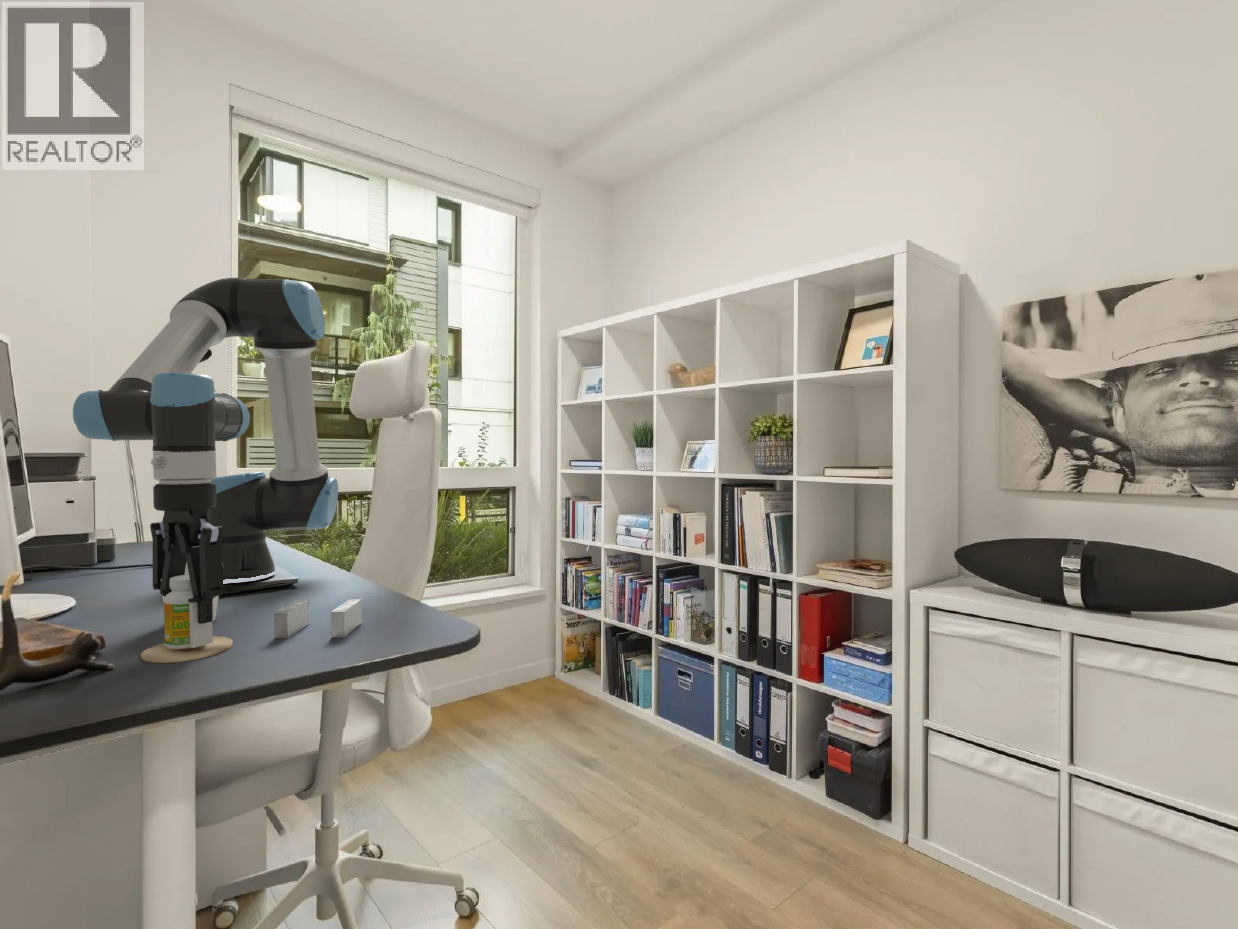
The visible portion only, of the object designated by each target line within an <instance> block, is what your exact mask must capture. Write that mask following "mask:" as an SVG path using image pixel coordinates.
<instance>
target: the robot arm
mask: <svg viewBox="0 0 1238 929" xmlns="http://www.w3.org/2000/svg"><path fill="white" fill-rule="evenodd" d="M325 323H326V322H325V315H324V309H323V306H322V303H321V300H320V298H319V295H318V292H317V291H316V289H315V288H314V287H313V286H312V285H311V284H310V283H308V282H305V281H300V280H299V281H298V280H293V279H292V280H290V279H287V278H286V279H285V278H284V279H274V278H273V279H271V278H269V279H268V278H267V279H266V278H265V279H264V278H241V277H226V278H220V279H217V280H214V281H213V280H212V281H211V282H208V283H206V284H203V285H201V286H198V287H197V288H195V289H194V290H192V291H190V292H188V294H186V295H185V296H183V297H182V298H181V299H179V301H178V302H176V304H174V306H173V307H172V309H171V311H170V312H169V321H168V322H167V324H166V325H165V326H164V327H163V328H162V329H161V330H160V332H159V333H158V334H157V335H156V336H155V337H154V338H153V339H152V340H151V342H150V343H149V344H148V345H147V346H146V347H145V348H144V350H143V351H142V352H141V353H140V354H139V355H138V356H137V357H136V358H135V360H134V361H133V362H132V363H131V365H130V366H129V367H128V368H127V369H126V370H125V371H124V372H123V373H122V375H121V376H120V377H119V378H118V379H117V380H116V382H115V383H114V384H113V385H112V386H111V387H110V388H109V389H108V390H102V389H97V390H88V391H85V392H81V393H79V395H78V396H77V397H76V399H75V400H74V403H73V406H72V419H73V422H74V425H75V426H76V429H77V431H78V432H79V433H80V434H81V435H82V436H84V437H85V438H87V439H89V440H105V441H107V440H108V441H112V442H116V441H152V459H151V461H150V464H151V465H152V469H153V471H152V476H153V477H152V478H153V479H154V480H156V481H158V483H155V484H154V486H153V487H152V492H153V496H152V497H153V509H155V510H157V511H159V512H163V517H162V521H159V522H151V523H150V525H149V528H150V534H151V538H152V589H153V590H154V591H157V590H159V594H160V595H161V597H162V596H164V598H165V596H166V595H167V594H168V593H170V592H172V589H170V578H172V577H175V576H180V575H184V574H185V568H186V561H187V567H188V572H189V577H190V583H191V588H192V593H193V598H191V599H188V601H189V616H190V647H191V648H195V647H199V646H203V645H206V644H210V643H213V636H214V635H213V622H212V619H213V612H212V611H213V603H212V602H213V598H215V597H216V596H219V597H220V596H223V594H224V585H223V580H225V579H238V578H251V577H256V576H260V575H267V574H269V573H272V572H274V571H275V572H276V564H275V561H274V560H273V557H272V556H273V555H271V551H270V548H269V547H268V544H267V535H266V531H299V530H300V531H301V530H302V531H304V530H305V531H310V530H322V529H326V528H327V527H329V526H330V524H331V523H332V522H333V519H334V517H335V513H336V510H337V504H338V499H339V483H338V479H337V478H336V477H333V476H329V471H328V467H327V466H325V465H324V464H323V463H322V462H321V461H320V456H319V454H320V453H319V444H318V432H317V422H316V421H317V420H316V410H315V408H316V407H315V398H314V385H313V376H312V364H311V363H312V362H311V354H312V353H313V352H314V351H315V350H316V349H317V348H318V343H317V341H319V340H321V339H323V337H324V336H325V330H326V328H325V325H326V324H325ZM231 337H241V338H253V341H254V342H253V343H254V349H256V350H257V351H258V352H259V353H260V354H262V355H263V356H264V357H263V358H264V366H265V375H266V376H265V377H266V384H267V393H268V404H269V409H270V410H269V411H270V412H269V413H270V420H271V422H270V423H271V427H272V429H271V430H272V437H273V438H272V440H273V447H274V457H275V466H274V467H273V468H272V469H271V470H270V471H269V474H268V475H269V477H266V473H265V472H264V471H254V472H249V473H238V474H232V475H225V476H222V475H221V476H217V454H216V442H228V441H230V440H235V439H237V438H239V437H241V436H243V434H245V432H246V431H247V430H248V428H249V426H250V422H251V417H250V416H251V415H250V411H249V409H248V407H247V406H246V404H245V403H244V402H243V401H242V400H240V399H239V398H237V397H235V396H232V395H229V394H228V393H225V392H224V393H223V392H222V393H219V392H217V391H216V388H215V382H214V379H213V378H212V377H211V376H210V375H207V374H202V373H194V372H193V371H194V370H195V368H196V367H197V366H198V364H199V363H200V362H201V361H202V359H203V358H204V356H205V355H206V353H208V351H209V350H210V348H211V347H214V346H217V345H219V344H220V343H221V342H223V341H224V339H226V338H231ZM192 372H193V373H192ZM161 579H162V580H161Z"/></svg>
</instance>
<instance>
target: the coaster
mask: <svg viewBox="0 0 1238 929" xmlns="http://www.w3.org/2000/svg"><path fill="white" fill-rule="evenodd" d="M233 642H234V641H233V639H231V638H229V637H227V636H220V635H219V636H217V635H216V636H215V635H213V643H210V644H206V645H203V646H199V647H195V648H185V649H171V648H167V647H166V646H165V642H162V643H159V644H158V643H157V644H156V645H153V646H150V647H148V648H146V649H145V650H143V651H142V652H141V654H140V658H141V660H142V661H143V662H146V663H151V664H174V663H184V662H190V661H196V660H200V659H201V660H202V659H206V658H209V657H212V656H217V655H219V654H221V653H224V652H226V651H227V650H229V649H231V648H232V647H233V646H234V645H233V644H234V643H233Z"/></svg>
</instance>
